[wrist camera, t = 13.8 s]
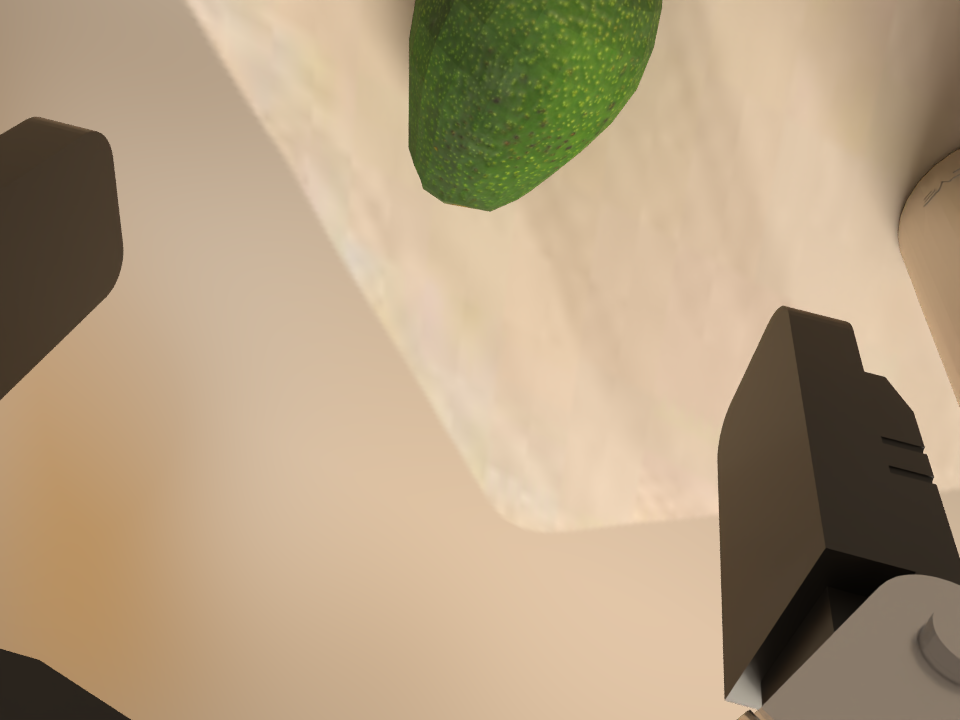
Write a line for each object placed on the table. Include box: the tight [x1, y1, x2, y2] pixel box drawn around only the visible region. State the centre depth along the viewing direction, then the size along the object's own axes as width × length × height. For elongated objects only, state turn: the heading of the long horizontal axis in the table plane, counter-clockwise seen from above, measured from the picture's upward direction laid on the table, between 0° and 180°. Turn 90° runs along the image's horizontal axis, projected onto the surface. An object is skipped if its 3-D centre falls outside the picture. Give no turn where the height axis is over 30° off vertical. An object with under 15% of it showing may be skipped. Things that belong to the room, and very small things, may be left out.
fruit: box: [409, 0, 662, 211], centre depth 37 cm, size 15×10×10 cm, turn 152°
